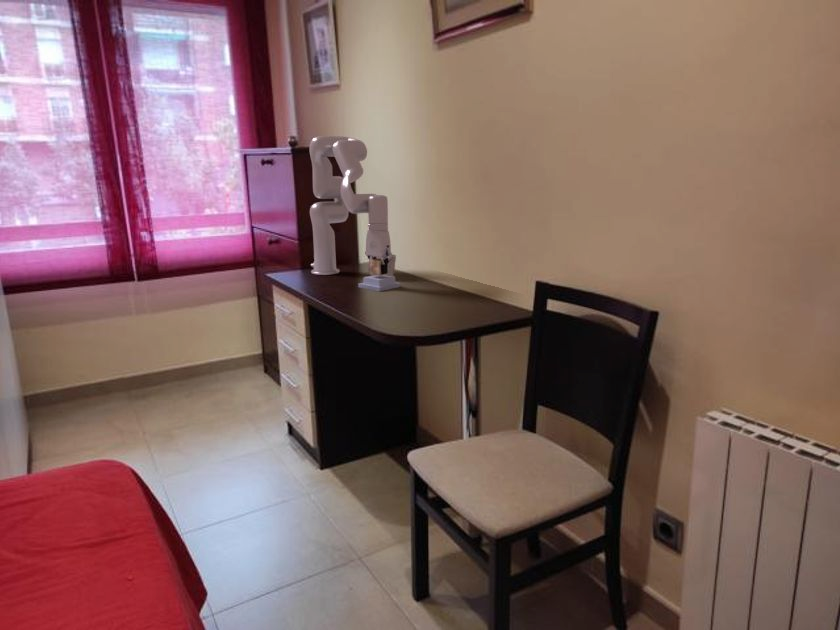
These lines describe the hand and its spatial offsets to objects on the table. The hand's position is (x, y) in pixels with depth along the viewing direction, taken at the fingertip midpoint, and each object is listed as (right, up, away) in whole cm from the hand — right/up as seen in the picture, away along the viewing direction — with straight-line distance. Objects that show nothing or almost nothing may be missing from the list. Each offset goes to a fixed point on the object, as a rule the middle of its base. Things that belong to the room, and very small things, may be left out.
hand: (379, 272), depth 235 cm
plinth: (0, -6, +1) cm, 6 cm away
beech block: (0, -1, 0) cm, 1 cm away
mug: (0, -2, +19) cm, 19 cm away
